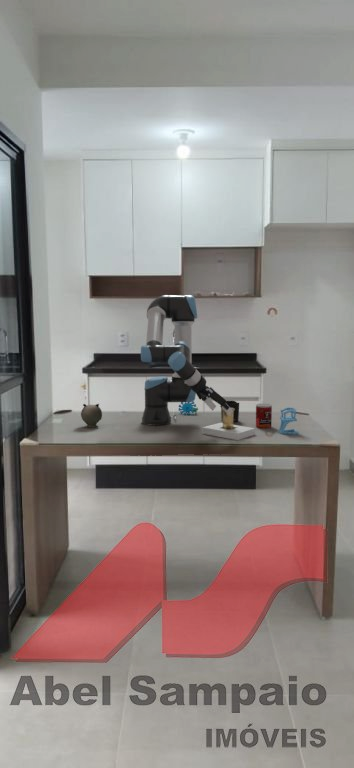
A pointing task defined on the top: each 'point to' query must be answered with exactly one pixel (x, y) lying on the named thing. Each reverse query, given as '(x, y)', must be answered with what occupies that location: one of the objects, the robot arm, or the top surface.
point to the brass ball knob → (228, 420)
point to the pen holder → (236, 413)
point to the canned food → (263, 415)
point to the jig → (229, 431)
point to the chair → (287, 421)
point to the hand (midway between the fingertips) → (222, 410)
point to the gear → (188, 408)
